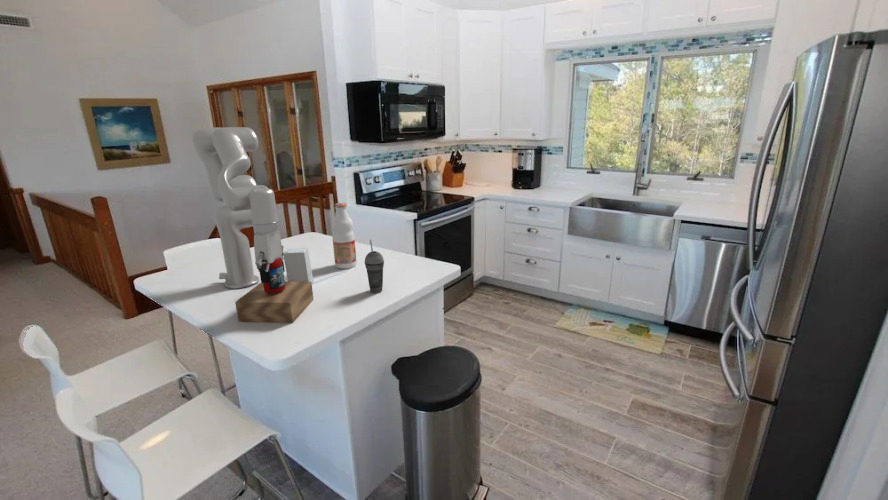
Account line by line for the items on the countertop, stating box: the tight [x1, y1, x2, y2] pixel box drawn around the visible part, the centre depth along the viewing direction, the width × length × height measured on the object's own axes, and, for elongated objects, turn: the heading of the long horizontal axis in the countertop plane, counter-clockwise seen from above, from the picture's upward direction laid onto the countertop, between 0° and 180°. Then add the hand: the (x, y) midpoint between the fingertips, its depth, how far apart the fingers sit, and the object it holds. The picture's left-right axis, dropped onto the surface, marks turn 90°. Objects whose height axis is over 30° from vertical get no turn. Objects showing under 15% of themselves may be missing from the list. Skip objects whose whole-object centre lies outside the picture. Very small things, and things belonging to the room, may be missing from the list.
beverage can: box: [263, 257, 286, 294], centre depth 137 cm, size 7×7×12 cm
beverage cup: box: [364, 239, 385, 294], centre depth 153 cm, size 7×7×20 cm
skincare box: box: [283, 247, 314, 285], centre depth 159 cm, size 8×6×15 cm
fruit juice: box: [331, 202, 357, 270], centre depth 180 cm, size 9×9×28 cm
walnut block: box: [235, 280, 315, 324], centre depth 140 cm, size 18×18×7 cm
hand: (273, 277), depth 137 cm, fingers open, 9 cm apart
